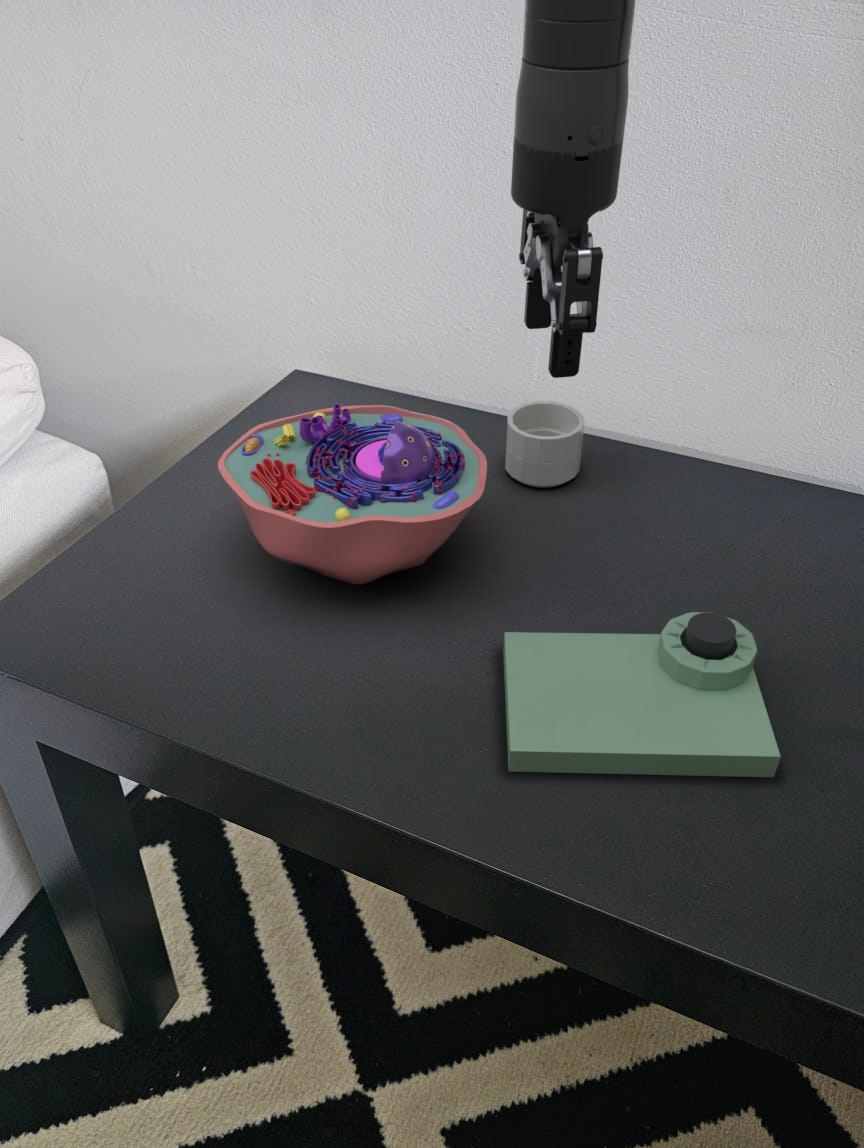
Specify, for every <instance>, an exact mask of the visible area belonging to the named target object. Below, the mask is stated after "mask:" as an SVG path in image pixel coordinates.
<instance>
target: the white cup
mask: <svg viewBox="0 0 864 1148" xmlns="http://www.w3.org/2000/svg"><path fill="white" fill-rule="evenodd" d="M506 417H507V418H506V432H505V433H506V434H505V435H506V436H505V454H504V468H505V469H504V470H505V471H506V472H507V473H508V474H509V475H510V477H511V478H513V479H515V480H516V481H518V482H520V483H521V484H524V485H526V486H528V487H529V486H530V487H534V488H553V487H558V486H561V485H563V484H565V483H567V482H569V481H571V480H572V479H574V478H576V476H577V475H578V473H579V472H580V470H581V461H582V450H583V443H584V442H583V441H584V433H585V432H584V431H585V425H586V424H585V423H586V422H585V418H584V415H583V414H582V413H581V412H580V411H579V410H578V409H577V408H575V407H573V406H570V405H568V404H566V403H563V402H558V401H557V402H556V401H552V400H537V401H531V402H530V401H529V402H525V403H522V404H520V405H518V406H516V407H513V409H511V410H510V412H508V415H507V416H506Z"/></svg>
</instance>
